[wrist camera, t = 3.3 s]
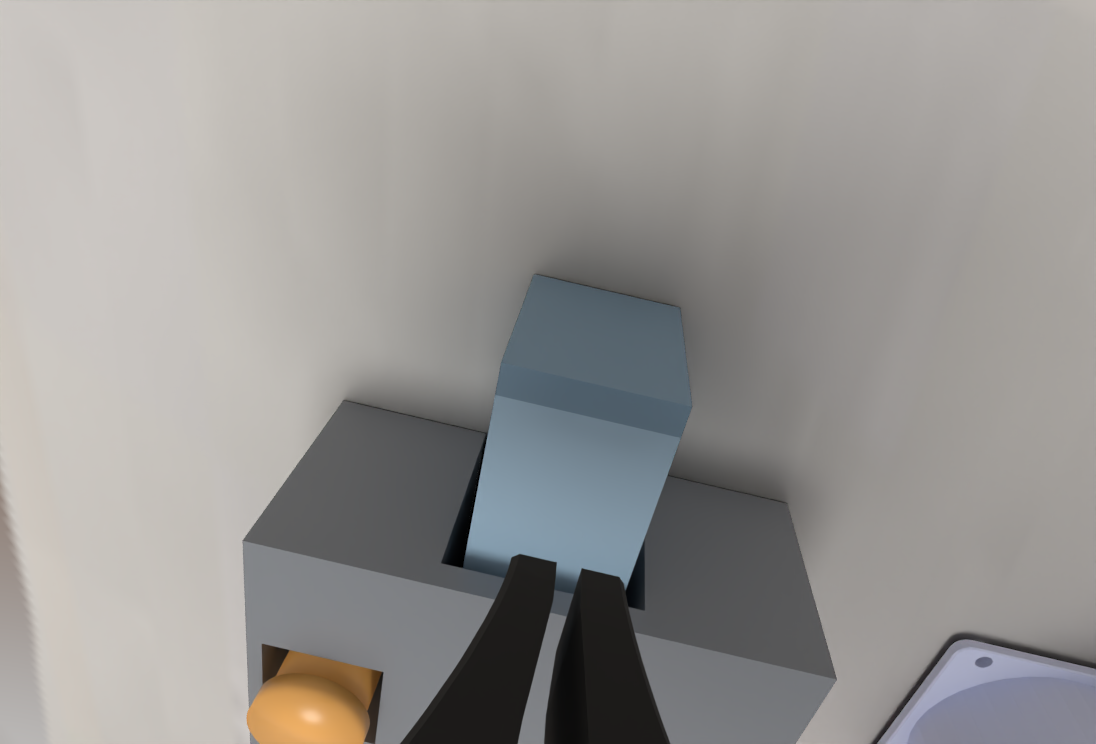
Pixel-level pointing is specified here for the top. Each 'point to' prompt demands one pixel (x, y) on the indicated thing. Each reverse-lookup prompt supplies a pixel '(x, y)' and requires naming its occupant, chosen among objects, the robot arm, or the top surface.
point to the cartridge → (580, 432)
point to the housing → (466, 596)
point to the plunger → (313, 702)
